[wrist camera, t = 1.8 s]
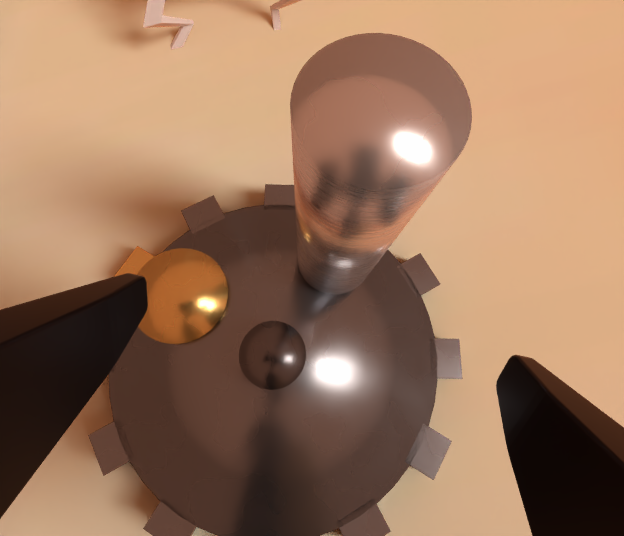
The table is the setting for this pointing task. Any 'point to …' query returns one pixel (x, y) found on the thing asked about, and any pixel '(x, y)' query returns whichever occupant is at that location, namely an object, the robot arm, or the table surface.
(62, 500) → the table surface
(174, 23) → the origami figure
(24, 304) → the robot arm
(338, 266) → the drive pin
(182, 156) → the table surface
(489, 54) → the table surface
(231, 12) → the table surface
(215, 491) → the sprocket plate
